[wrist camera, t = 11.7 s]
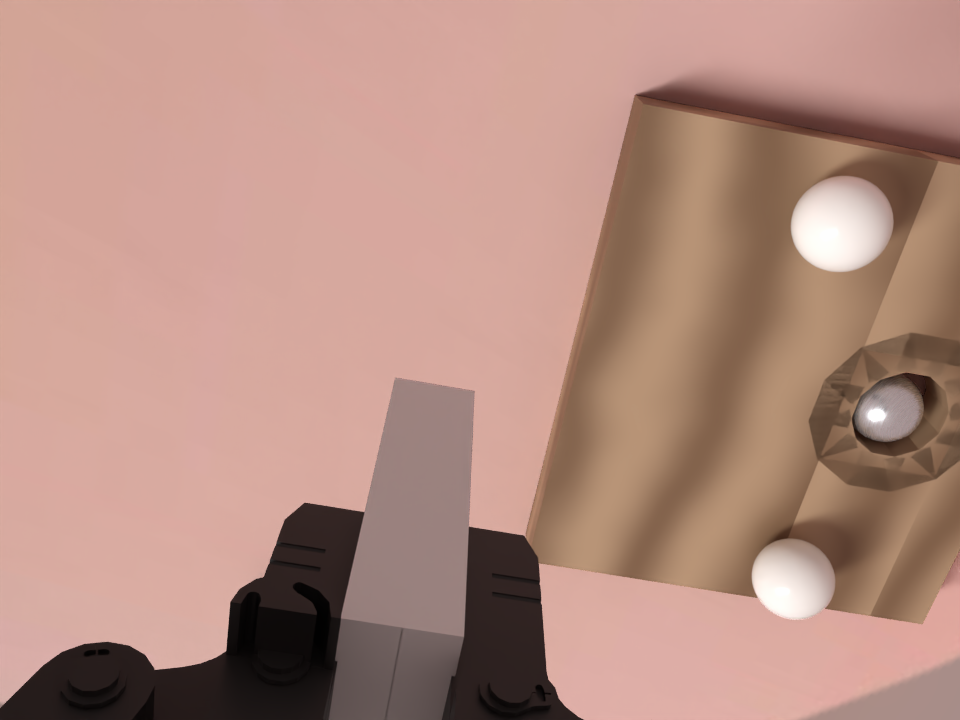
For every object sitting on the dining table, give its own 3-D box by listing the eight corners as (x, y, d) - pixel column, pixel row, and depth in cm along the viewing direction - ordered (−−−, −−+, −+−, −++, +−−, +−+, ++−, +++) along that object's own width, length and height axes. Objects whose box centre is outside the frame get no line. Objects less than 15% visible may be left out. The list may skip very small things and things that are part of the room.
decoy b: (733, 578, 48) (752, 630, 44) (756, 517, 46) (778, 565, 42) (805, 590, 48) (830, 642, 44) (830, 529, 46) (859, 578, 43)
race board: (525, 533, 50) (527, 561, 48) (635, 94, 40) (643, 103, 38) (903, 593, 51) (922, 624, 49) (1100, 185, 41) (1135, 199, 39)
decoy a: (767, 246, 40) (794, 276, 36) (796, 158, 38) (827, 180, 35) (852, 262, 40) (888, 293, 37) (885, 175, 39) (926, 199, 35)
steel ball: (821, 422, 45) (878, 462, 43) (846, 364, 44) (906, 402, 41) (865, 409, 47) (921, 447, 45) (890, 352, 45) (950, 389, 43)
